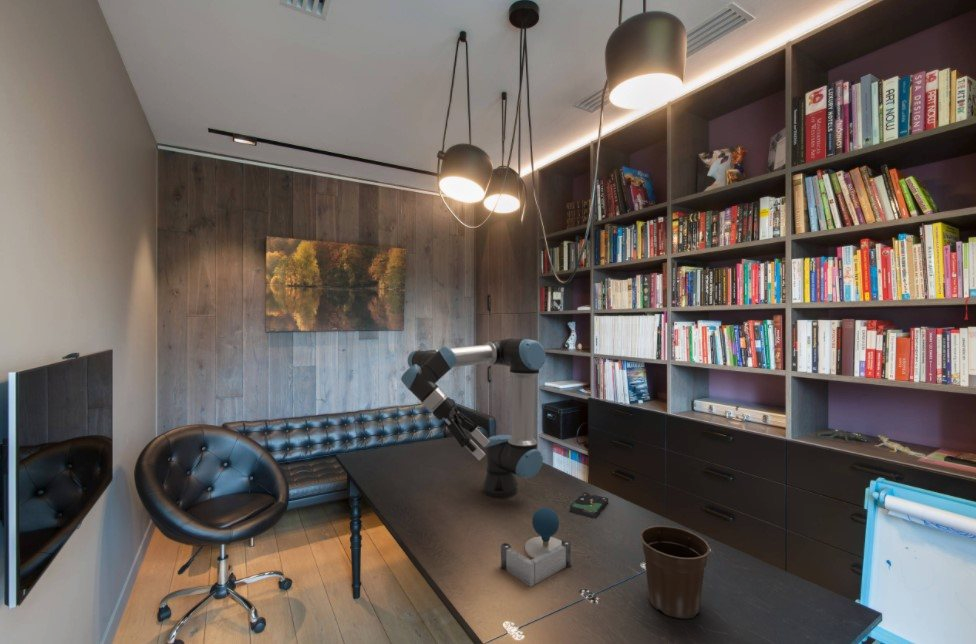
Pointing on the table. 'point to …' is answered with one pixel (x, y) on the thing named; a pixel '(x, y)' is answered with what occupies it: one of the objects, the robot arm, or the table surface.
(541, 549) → the coaster
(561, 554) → the bent rail
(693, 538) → the plant pot
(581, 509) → the disk drive
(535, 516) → the dark blue rounded piece
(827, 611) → the table surface
